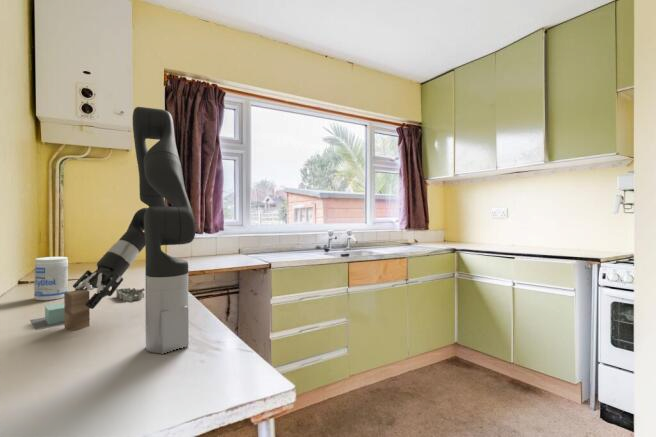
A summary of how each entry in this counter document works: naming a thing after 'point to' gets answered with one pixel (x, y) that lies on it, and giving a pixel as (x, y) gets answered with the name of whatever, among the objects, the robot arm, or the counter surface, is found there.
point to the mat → (44, 324)
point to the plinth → (54, 313)
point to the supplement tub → (50, 278)
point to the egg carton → (130, 294)
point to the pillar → (76, 309)
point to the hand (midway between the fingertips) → (78, 305)
